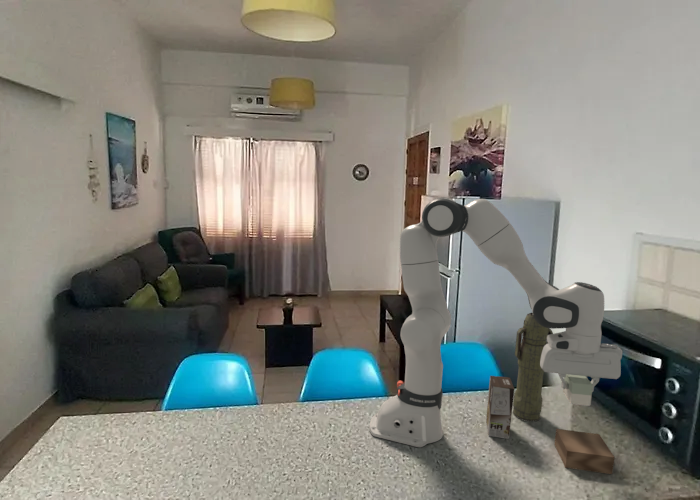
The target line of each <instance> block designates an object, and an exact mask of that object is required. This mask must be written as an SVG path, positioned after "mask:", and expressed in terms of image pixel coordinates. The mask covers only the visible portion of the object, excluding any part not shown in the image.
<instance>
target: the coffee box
mask: <svg viewBox="0 0 700 500" xmlns="http://www.w3.org/2000/svg"><path fill="white" fill-rule="evenodd" d="M488 384H489V385H488V395H487V406H486V407H487V409H486V417H485V418H486V421H485V424H486V429H487V430H486V431H487V435H488V437H495V438H501V439H505V440H506V439H507V440H509V439H510V433H511V425H512V424H511V423H512V414H513V401H514V393H515V386H514V384H513V382H512V379H511V377H507V376H497V375H489V383H488Z"/></svg>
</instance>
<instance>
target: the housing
mask: <svg viewBox="0 0 700 500" xmlns="http://www.w3.org/2000/svg"><path fill="white" fill-rule="evenodd" d="M563 378H564V377H563ZM564 380H565V381H567V382H568V383H569V386H568V387H569V389H563V388H562V393H563V394H564V396H565V397H566V399H567V400H568V402H569V403H570V405H577V406H587V407H590V406H591V404H592V394H593V392H592V387H593V385H592V383H591V381H590V380H589V378H588V376H579V375H569V374H566V377H565V378H564Z"/></svg>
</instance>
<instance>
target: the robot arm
mask: <svg viewBox="0 0 700 500" xmlns="http://www.w3.org/2000/svg"><path fill="white" fill-rule="evenodd" d="M460 232H463V233H465V234H466V235H468V237H469V238H470V239H471V240H472V242H473V243H474V244H475V245H476V247H477V248H478V250H479V251H480V252H481V253H482V254H483V255H484V256H485V257H486V258H487V259H488V260H489V261H490V262H491V263H493V264H494V265H497V266H500V267H502V268H504V269H506V270H507V271H508V273H509V272H510V273H511V275H512V276H513V278H514V279H515V280H516V282H518V284H519V285H520V286H521V288H522V289H523V290H524V292H525V293H526V294H527V297H528V298H527V299H528V303H529V304H528V305H529V307H530V309H531V313H533V316H534V318H535V320H536V321H537V322H538V323H539V324H540V325H541V326H543V327H546V328H549V329H551V330H552V329H565V331H561V332H556V333H555V332H554V333H553V334H550V335H548V334H547V340H546V345H545V346H544V348H543V350H542V354H541V359H540V366H541V368H542V370H543V371H544V373H549V374H550V373H551V374H558V376H559V378H560V381H561V388H562V390H563V389H569V387H568V386H569V383H568V382H567V381H565V380H564V378H565V377H566V374H569V375H579V376H586V377H590V378H591V381H590V382H591V383H592V385H593V387H592V393H593V392H594V390H595V386H596V385H597V384H599V382H600V379H601V378H602V379H611V380H612V379H613V380H617V379H619V378H620V377H621V374H622V373H621V372H622V371H621V369H622V368H621V367H622V366H621V360H622V358H623V350H622V348H621V347H620V346H618V345H617V344H614V343H613V344H609V343H602V336H603V335H602V334H603V333H602V324H603V323H602V322H603V320H604V315H605V294H604V293H603V291H602V290H601V289H600V288H599V287H597V286H595V285H593V284H590V283H586V282H581V281H580V282H578V281H576V282H573V283H572V284H570V285H569V286H566V287H564V288H561V289H559V288H558V287H557V286H555V285H553V284H551V283H549V282H547V281H546V280H545V279H544V278H543V277H542V275H540V273H539V272H538V270H537V268H535V266H534V265H533V264H532V262H530V260H529V258H528V256H527V254H526V252H525V248H524V245H523V242H522V240H521V238H520V236H519V234H518V232H517V230H516V229H515V228H514V227H513V225H512V223H511V222H510V221H509V220H508V218H507V217H506V216H505V215H504V213H502V212H501V211H500V209H498V208H497V207H496V206H495V205H494V204H493V203H491V202H490V201H489V200H488V199H486V198H478V199H475V200H472V201H470V202H468V203H467V204H465V205H464V204H461V203H458V202H456V201H455V200H454V199H452V198H449V197H442V196H441V197H437V198H434V199H433V200H431V201H429V202H428V203H427V204H426V205H425V207H424V208H423V210H422V214H421V221H420V222H418V223H416V224H411V225H408V226H406V227H405V228H403V230H401V233H400V236H399V237H400V238H399V261H400V266H401V267H400V268H401V269H400V270H401V276H402V283H403V290H404V292H405V294H406V295H407V296H408V300H409V302H410V306H411V311H412V312H411V314H410V315H409V316H408V317H406V319H405V320H404V322H403V323H402V326H401V328H400V333H399V334H400V339H401V342H402V344H403V346H404V347H403V348H404V354H405V373H404V381H403V380H398V381H397V383H396V387H397V391H396V395H394V396H392V397H390V398H388V399H386V400H384V401H383V402H382V404H381V405H380V407H379V409H378V412H377V413H375V414H374V415H372V417H371V419H370V422H369V429H368V430H369V432H370V434H371V435H372V436H373V437H375V438H380V439H384V440H388V441H392V442H395V443H400V444H404V445H408V446H412V447H417V448H423V447H425V446H426V445H427V444H432V443H436V442H438V441H440V440H441V439H442V438H443V436H444V431H443V426H442V418H441V409H442V406H443V388H442V385H443V384H442V381H443V369H444V364H443V361H442V353H441V346H442V345H441V343H442V340H443V338H444V336H445V335H446V334H447V333H448V331H449V330H450V328H451V324H452V314H451V312H450V311H449V309H448V304H447V300H446V298H445V294H444V291H443V286H442V281H441V280H442V279H441V271H440V264H439V257H438V255H439V254H438V241H439V239H440V238H441V237H443V238H445V237H448V236H452V235H454V234H458V233H460ZM547 342H548V344H547Z"/></svg>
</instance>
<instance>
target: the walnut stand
mask: <svg viewBox="0 0 700 500" xmlns="http://www.w3.org/2000/svg"><path fill="white" fill-rule="evenodd" d="M554 435H555V437H554V447H555V448H556V451H557V453H558V455H559V457H560V460H561V461H562V464H563V466H564V468H565V469H572V470H580V471H587V472H592V473H593V472H594V473H599V474H600V473H602V474H606V475H607V474H608V475H613V471H614V465H615V464H614V463H615V456H614V454H613V452H612V450H610V448H609V446H608V445H607V444H606V442H605V440H604V438H603V437H602V436H601V435H600V434H599V433H594V432H593V433H592V432H585V431H578V430H570V429H560V428H556V429H555V434H554Z"/></svg>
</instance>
